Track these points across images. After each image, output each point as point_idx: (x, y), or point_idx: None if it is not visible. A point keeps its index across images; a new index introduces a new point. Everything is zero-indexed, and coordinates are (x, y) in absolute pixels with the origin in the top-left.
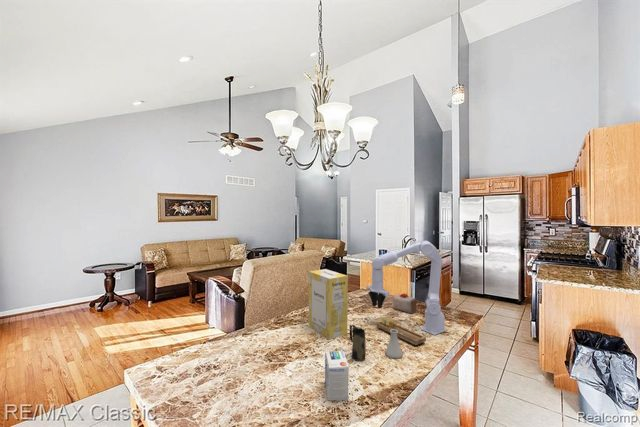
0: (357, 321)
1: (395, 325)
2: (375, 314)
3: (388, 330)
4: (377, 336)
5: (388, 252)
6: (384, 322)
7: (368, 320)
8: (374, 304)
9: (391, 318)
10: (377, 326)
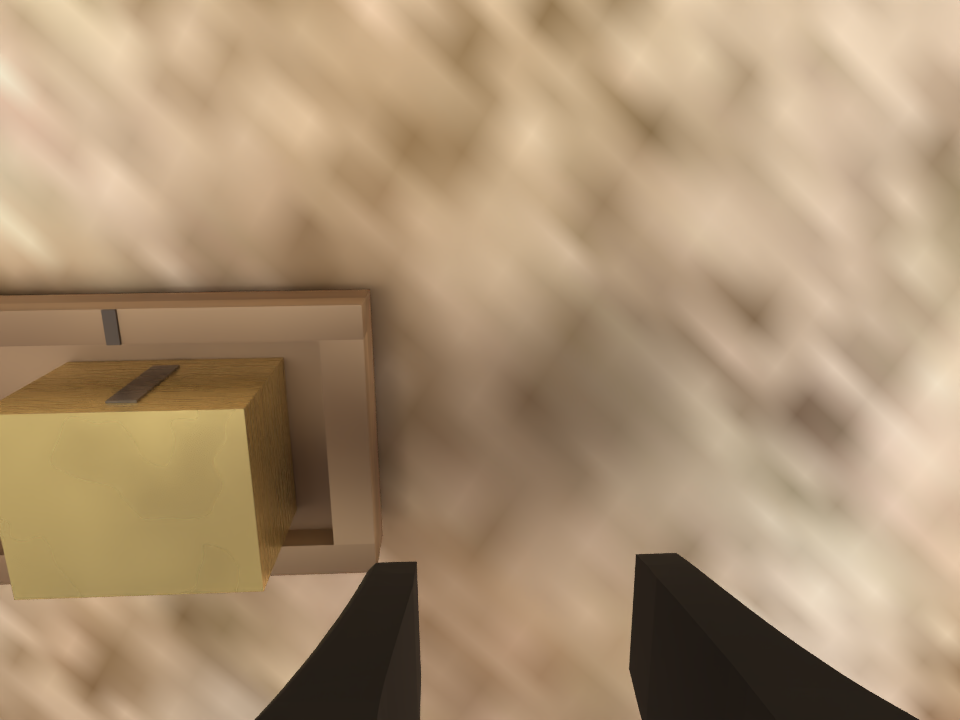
0: (833, 192)
1: None
2: None
3: (11, 300)
4: (58, 26)
5: None
6: (160, 385)
7: (731, 407)
8: (646, 622)
9: (106, 588)
10: (337, 291)
